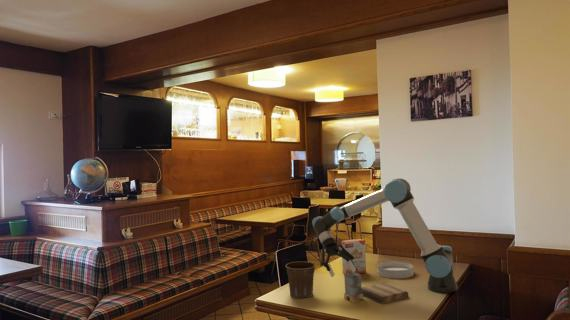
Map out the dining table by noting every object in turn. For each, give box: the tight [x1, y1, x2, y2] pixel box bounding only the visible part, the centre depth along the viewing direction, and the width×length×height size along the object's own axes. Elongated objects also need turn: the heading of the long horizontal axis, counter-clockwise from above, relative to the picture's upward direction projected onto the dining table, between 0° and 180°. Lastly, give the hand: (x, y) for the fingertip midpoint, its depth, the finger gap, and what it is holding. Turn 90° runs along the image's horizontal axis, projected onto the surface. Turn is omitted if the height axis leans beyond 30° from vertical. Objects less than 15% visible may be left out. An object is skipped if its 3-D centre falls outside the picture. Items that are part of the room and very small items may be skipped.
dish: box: [376, 261, 415, 279], centre depth 248 cm, size 22×22×5 cm
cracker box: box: [341, 238, 367, 275], centre depth 253 cm, size 14×6×21 cm, turn 105°
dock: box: [361, 282, 409, 304], centre depth 209 cm, size 18×18×3 cm
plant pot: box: [285, 261, 316, 299], centre depth 216 cm, size 16×16×16 cm
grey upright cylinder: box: [343, 272, 364, 303], centre depth 205 cm, size 7×7×13 cm
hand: (344, 273), depth 211 cm, fingers open, 13 cm apart
